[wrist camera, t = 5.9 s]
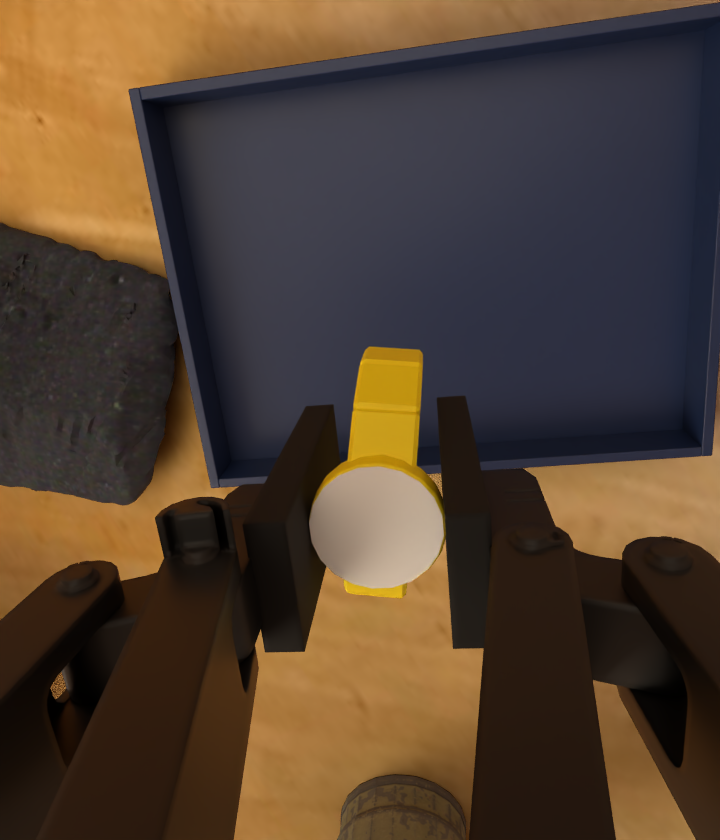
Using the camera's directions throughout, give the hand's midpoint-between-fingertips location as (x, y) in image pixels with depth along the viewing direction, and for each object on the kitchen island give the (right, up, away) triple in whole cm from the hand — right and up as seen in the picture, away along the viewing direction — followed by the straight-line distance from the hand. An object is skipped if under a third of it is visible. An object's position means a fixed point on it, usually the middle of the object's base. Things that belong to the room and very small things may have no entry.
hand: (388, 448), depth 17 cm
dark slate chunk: (-21, +4, +18) cm, 29 cm away
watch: (0, 0, +1) cm, 1 cm away
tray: (+3, +8, +14) cm, 17 cm away
